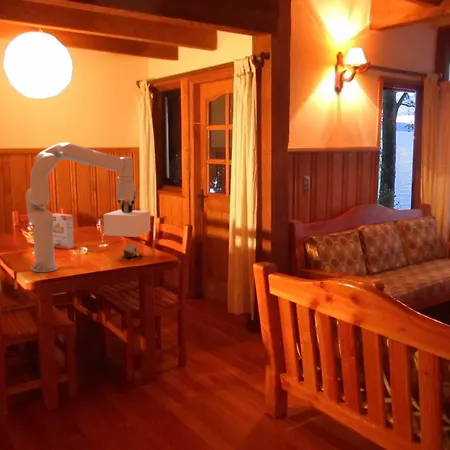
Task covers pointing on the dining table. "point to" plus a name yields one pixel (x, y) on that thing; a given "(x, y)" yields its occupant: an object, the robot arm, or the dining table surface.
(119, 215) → the cover
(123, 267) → the dining table surface
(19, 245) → the dining table surface
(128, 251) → the skull
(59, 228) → the cracker box
